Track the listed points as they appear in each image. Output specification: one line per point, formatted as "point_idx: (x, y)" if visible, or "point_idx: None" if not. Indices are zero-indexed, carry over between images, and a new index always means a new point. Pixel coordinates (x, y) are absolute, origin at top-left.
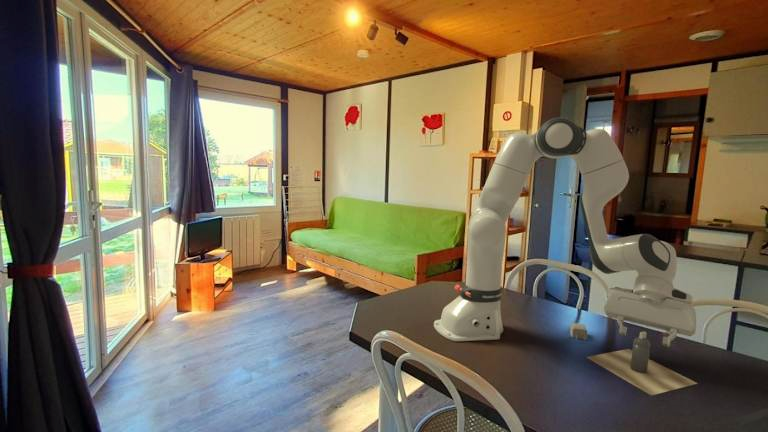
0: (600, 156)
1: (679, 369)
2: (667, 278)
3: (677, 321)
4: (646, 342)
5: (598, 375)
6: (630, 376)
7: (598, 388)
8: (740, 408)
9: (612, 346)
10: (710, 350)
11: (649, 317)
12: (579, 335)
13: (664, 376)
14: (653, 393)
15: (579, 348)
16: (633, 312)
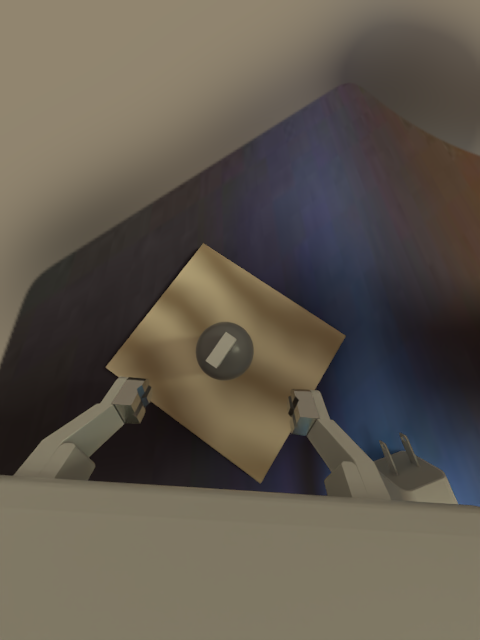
0: None
1: (137, 449)
2: None
3: None
4: (208, 330)
5: (302, 280)
6: (243, 299)
7: (292, 228)
8: (47, 323)
9: (301, 489)
10: None
11: (176, 529)
12: (404, 468)
13: (174, 352)
14: (199, 252)
15: (371, 401)
16: (311, 561)
